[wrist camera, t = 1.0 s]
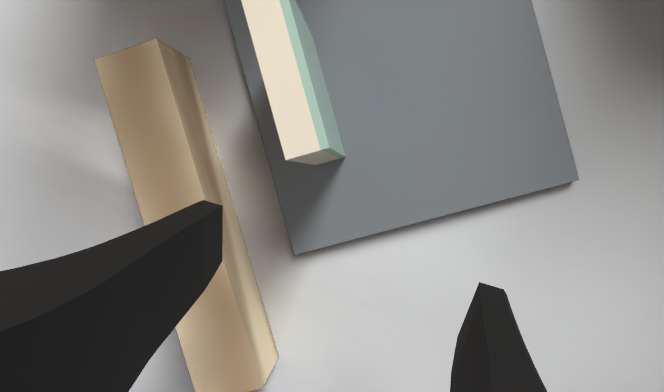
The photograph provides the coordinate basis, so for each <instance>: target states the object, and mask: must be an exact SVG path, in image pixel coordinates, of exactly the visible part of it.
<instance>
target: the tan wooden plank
mask: <svg viewBox="0 0 664 392" xmlns="http://www.w3.org/2000/svg"><path fill="white" fill-rule="evenodd" d="M94 62H95V65H96V68H97V72H98V75H99V78H100V82H101V85H102V88H103V91H104V95H105V98H106V101H107V105H108V108H109V111H110V114H111V118H112V121H113V124H114V127H115V131H116V134H117V137H118V141H119V144H120V147H121V150H122V154H123V157H124V160H125V164H126V167H127V170H128V173H129V177H130V180H131V183H132V186H133V190H134V193H135V196H136V200H137V203H138V206H139V209H140V213H141V216H142V219H143V223H144V226H146V225H148V224H150V223H153V222H155V221H157V220H159V219H162V218H164V217H166V216H168V215H170V214H172V213H175V212H177V211H179V210H181V209H183V208H186V207H188V206H190V205H192V204H195V203H197V202H199V201H202V200H205V201H209V202H212V203H215V204H219V205H222V206H223V246H222V263H221V264H220V266H219V268H218V269H217V271H216V273H215V275H214V276H213V278H212V280H211V281H210V283H209V284H208V286H207V288H206V289H205V291H204V292H203V293H202V294H201V296H200V297H199V298H198V299H197V301H196V302H195V303H194V304H193V306H192V307H191V308H190V309H189V311H188V312H187V313H186V314H185V316H184V317H183V318H182V319H181V321H180V322H179V323H178V324H177V325H176V331H177V334H178V337H179V341H180V344H181V347H182V350H183V354H184V357H185V360H186V363H187V367H188V370H189V373H190V377H191V380H192V383H193V386H194V390H195V392H250V391H254V390H258V389H261V388H263V386H264V384H265V382H266V380H267V378H268V377H269V375H270V373H271V371H272V369H273V367H274V365H275V363H276V361H277V360H278V358H279V355H278V351H277V348H276V345H275V341H274V338H273V335H272V331H271V328H270V325H269V321H268V318H267V315H266V311H265V308H264V305H263V302H262V298H261V295H260V292H259V288H258V285H257V282H256V278H255V275H254V272H253V268H252V265H251V262H250V258H249V255H248V252H247V249H246V245H245V242H244V239H243V235H242V232H241V229H240V225H239V222H238V219H237V215H236V212H235V209H234V205H233V202H232V199H231V195H230V192H229V189H228V186H227V182H226V179H225V176H224V172H223V169H222V166H221V162H220V159H219V156H218V152H217V149H216V146H215V142H214V139H213V136H212V132H211V129H210V126H209V123H208V119H207V116H206V113H205V109H204V106H203V103H202V99H201V96H200V93H199V89H198V86H197V83H196V79H195V76H194V73H193V69H192V66H191V63H190V60H189V58H187V57H186V56H184V55H182V54H181V53H179V52H178V51H176V50H174V49H173V48H171V47H170V46H168V45H166V44H165V43H163V42H161V41H160V40H158V39H157V38H155V39H153V40H150V41H147V42H144V43H141V44H138V45H135V46H132V47H129V48H126V49H123V50H121V51H118V52H115V53H112V54H109V55H106V56H103V57H100V58H97V59H94Z"/></svg>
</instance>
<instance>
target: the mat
mask: <svg viewBox="0 0 664 392" xmlns="http://www.w3.org/2000/svg"><path fill="white" fill-rule="evenodd" d="M295 1H296V3H297V5H298V7H299V9H300V11H301V13H302V16H303V18H304V20H305V22H306V24H307V26H308V28H309V30H310V33H311V35H312V37H313V40H314V44H315V47H316V51H317V54H318V58H319V62H320V65H321V69H322V73H323V76H324V80H325V84H326V87H327V91H328V94H329V98H330V102H331V105H332V109H333V113H334V116H335V120H336V124H337V127H338V131H339V134H340V138H341V142H342V145H343V149H344V153H345V156H346V157H343V158H340V159H336V160H333V161H329V162H326V163H322V164H319V165H312V164H306V163H300V162H294V161H288V160H285V156H284V153H283V149H282V146H281V142H280V138H279V135H278V131H277V128H276V124H275V120H274V117H273V113H272V110H271V106H270V102H269V99H268V95H267V92H266V88H265V84H264V81H263V77H262V74H261V70H260V66H259V63H258V59H257V56H256V52H255V48H254V45H253V41H252V38H251V34H250V30H249V27H248V23H247V19H246V16H245V12H244V9H243V5H242V1H241V0H224V3H225V7H226V11H227V14H228V18H229V21H230V25H231V29H232V32H233V36H234V39H235V43H236V47H237V50H238V54H239V57H240V61H241V64H242V68H243V72H244V75H245V79H246V82H247V86H248V90H249V93H250V97H251V100H252V104H253V108H254V111H255V115H256V118H257V122H258V126H259V129H260V133H261V136H262V140H263V144H264V147H265V151H266V154H267V158H268V162H269V165H270V169H271V172H272V176H273V180H274V183H275V187H276V190H277V194H278V198H279V201H280V205H281V208H282V212H283V216H284V219H285V223H286V226H287V230H288V234H289V237H290V241H291V244H292V248H293V252H294V255H296V254H300V253H304V252H308V251H312V250H315V249H319V248H323V247H327V246H331V245H334V244H338V243H342V242H346V241H349V240H353V239H357V238H361V237H365V236H368V235H372V234H376V233H380V232H384V231H387V230H391V229H395V228H399V227H403V226H406V225H410V224H414V223H418V222H422V221H425V220H429V219H433V218H437V217H441V216H444V215H448V214H452V213H456V212H460V211H463V210H467V209H471V208H475V207H479V206H482V205H486V204H490V203H494V202H498V201H501V200H505V199H509V198H513V197H516V196H520V195H524V194H528V193H532V192H535V191H539V190H543V189H547V188H551V187H554V186H558V185H562V184H566V183H570V182H573V181H577V180H579V177H578V173H577V170H576V166H575V162H574V158H573V155H572V151H571V147H570V143H569V140H568V136H567V132H566V128H565V125H564V121H563V117H562V114H561V110H560V106H559V102H558V99H557V95H556V91H555V87H554V84H553V80H552V76H551V72H550V69H549V65H548V61H547V57H546V54H545V50H544V46H543V42H542V39H541V35H540V31H539V27H538V24H537V20H536V16H535V12H534V9H533V5H532V1H531V0H295Z"/></svg>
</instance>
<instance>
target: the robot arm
mask: <svg viewBox="0 0 664 392" xmlns="http://www.w3.org/2000/svg"><path fill="white" fill-rule="evenodd" d="M222 246H223V206H222V205H219V204H215V203H212V202H209V201H205V200H202V201H199V202H197V203H195V204H192V205H190V206H188V207H186V208H183V209H181V210H179V211H177V212H175V213H172V214H170V215H168V216H166V217H164V218H162V219H159V220H157V221H155V222H153V223H150V224H148V225H146V226H144V227H141V228H139V229H137V230H134V231H132V232H129V233H127V234H124V235H122V236H119V237H117V238H114V239H112V240H109V241H107V242H104V243H102V244H99V245H96V246H93V247H90V248H88V249H85V250H82V251H78V252H75V253H72V254H69V255H65V256H62V257H59V258H55V259H51V260H47V261H43V262H39V263H35V264H31V265H27V266H23V267H19V268H14V269H10V270H5V271H0V392H128V391H129V390H130V388H131V387H132V385H133V384H134V382H135V381H136V379H137V378H138V376H139V375H140V373H141V371H142V370H143V368H144V367H145V365H146V364H147V362H148V361H149V360H150V358H151V357H152V356H153V354H154V353H155V352H156V350H157V349H158V348H159V346H160V345H161V344H162V343H163V341H164V340H165V339H166V338H167V337H168V335H169V334H170V333H171V332H172V330H173V329H174V328H175V327H176V325H177V324H178V323H179V322H180V321H181V319H182V318H183V317H184V316H185V314H186V313H187V312H188V311H189V309H190V308H191V307H192V306H193V304H194V303H195V302H196V301H197V299H198V298H199V297H200V296H201V294H202V293H203V292H204V291H205V289H206V288H207V286H208V284H209V283H210V281H211V280H212V278H213V276H214V275H215V273H216V271H217V269H218V268H219V266H220V264H221V263H222ZM450 392H547V390H546V388H545V386H544V384H543V382H542V380H541V378H540V376H539V374H538V372H537V370H536V368H535V366H534V364H533V361H532V359H531V357H530V355H529V352H528V350H527V348H526V346H525V343H524V341H523V338H522V336H521V334H520V331H519V328H518V326H517V323H516V321H515V318H514V315H513V312H512V309H511V307H510V304H509V301H508V297H507V294H506V293H505V291H504V290H503V289H500V288H496V287H493V286H490V285H486V284H483V283H480V282H479V285H478V287H477V290H476V292H475V295H474V297H473V300H472V302H471V305H470V307H469V310H468V312H467V315H466V317H465V320H464V322H463V325H462V327H461V330H460V332H459V335H458V337H457V343H456V348H455V354H454V360H453V366H452V372H451V387H450Z"/></svg>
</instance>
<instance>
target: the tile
mask: <svg viewBox="0 0 664 392" xmlns="http://www.w3.org/2000/svg"><path fill="white" fill-rule="evenodd" d="M241 1H242V5H243V9H244V12H245V16H246V19H247V23H248V27H249V30H250V34H251V38H252V41H253V45H254V48H255V52H256V56H257V59H258V63H259V66H260V70H261V74H262V77H263V81H264V84H265V88H266V92H267V95H268V99H269V102H270V106H271V110H272V113H273V117H274V120H275V124H276V128H277V131H278V135H279V138H280V142H281V146H282V149H283V153H284V156H285V160H288V161H294V162H300V163H306V164H312V165H319V164H322V163H326V162H329V161H333V160H336V159H340V158H343V157H346V156H345V153H344V149H343V145H342V142H341V138H340V134H339V131H338V127H337V124H336V120H335V116H334V113H333V109H332V105H331V102H330V98H329V94H328V91H327V87H326V84H325V80H324V76H323V73H322V69H321V65H320V62H319V58H318V54H317V51H316V47H315V44H314V40H313V37H312V35H311V33H310V30H309V28H308V26H307V24H306V22H305V20H304V18H303V16H302V13H301V11H300V9H299V7H298V5H297V3H296V1H295V0H241Z"/></svg>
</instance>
